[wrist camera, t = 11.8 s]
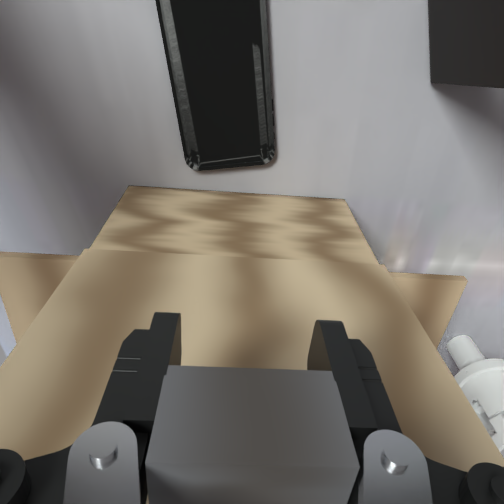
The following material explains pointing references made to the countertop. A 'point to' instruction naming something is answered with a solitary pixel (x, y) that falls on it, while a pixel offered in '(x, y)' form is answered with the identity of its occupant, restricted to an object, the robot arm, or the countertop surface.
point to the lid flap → (234, 374)
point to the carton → (225, 245)
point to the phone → (220, 80)
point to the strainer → (481, 384)
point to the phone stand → (467, 42)
